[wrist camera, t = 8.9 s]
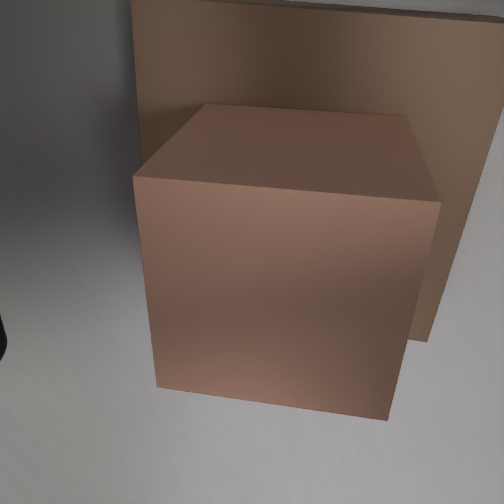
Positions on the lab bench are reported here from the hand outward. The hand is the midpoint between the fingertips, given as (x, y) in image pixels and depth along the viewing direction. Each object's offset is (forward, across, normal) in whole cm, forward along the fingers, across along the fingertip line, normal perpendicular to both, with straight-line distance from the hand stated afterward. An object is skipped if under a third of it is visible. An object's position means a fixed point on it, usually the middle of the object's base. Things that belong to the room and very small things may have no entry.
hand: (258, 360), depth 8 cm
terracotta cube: (+6, 0, 0) cm, 7 cm away
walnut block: (+10, 0, 0) cm, 10 cm away
